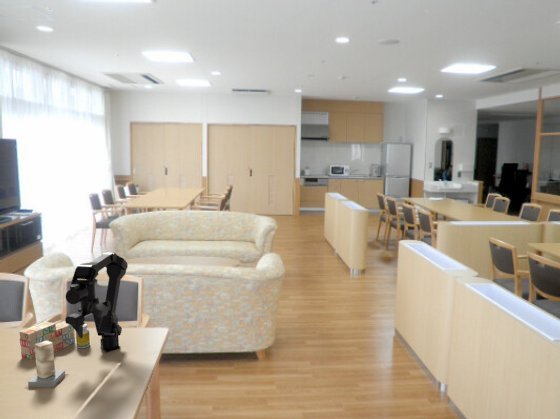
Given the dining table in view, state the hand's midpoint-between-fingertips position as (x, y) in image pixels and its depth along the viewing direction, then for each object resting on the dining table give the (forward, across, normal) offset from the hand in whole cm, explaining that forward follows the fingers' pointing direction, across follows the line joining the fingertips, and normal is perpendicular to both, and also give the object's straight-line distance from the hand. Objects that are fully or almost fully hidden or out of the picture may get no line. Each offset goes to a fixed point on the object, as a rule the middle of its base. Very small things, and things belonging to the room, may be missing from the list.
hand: (89, 333), depth 189 cm
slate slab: (+12, -18, +4) cm, 22 cm away
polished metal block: (+10, -18, +4) cm, 21 cm away
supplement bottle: (+13, +13, +16) cm, 24 cm away
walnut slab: (+14, -18, +4) cm, 23 cm away
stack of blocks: (+13, +4, +26) cm, 30 cm away
